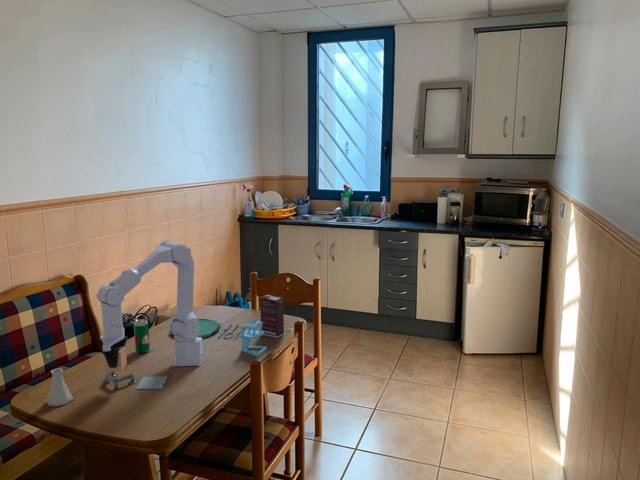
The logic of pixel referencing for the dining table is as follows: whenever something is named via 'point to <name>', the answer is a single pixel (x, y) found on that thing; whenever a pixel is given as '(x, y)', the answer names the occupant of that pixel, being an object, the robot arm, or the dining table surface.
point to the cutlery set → (212, 328)
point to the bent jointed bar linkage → (111, 375)
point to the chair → (252, 337)
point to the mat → (152, 383)
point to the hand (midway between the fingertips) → (116, 363)
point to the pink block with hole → (121, 361)
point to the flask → (58, 390)
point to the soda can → (141, 336)
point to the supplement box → (272, 316)
